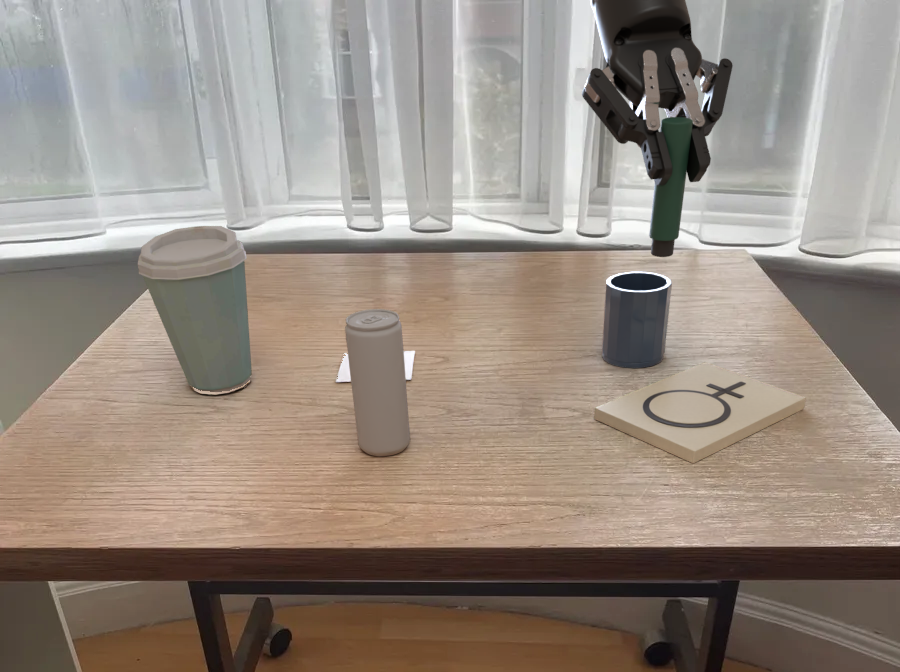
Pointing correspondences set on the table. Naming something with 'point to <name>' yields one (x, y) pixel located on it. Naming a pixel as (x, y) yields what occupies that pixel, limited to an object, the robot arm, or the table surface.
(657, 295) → the pen cup
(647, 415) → the drawing board
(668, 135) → the marker
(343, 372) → the white piece
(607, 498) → the table surface
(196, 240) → the disposable coffee cup
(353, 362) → the beverage can
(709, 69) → the robot arm
